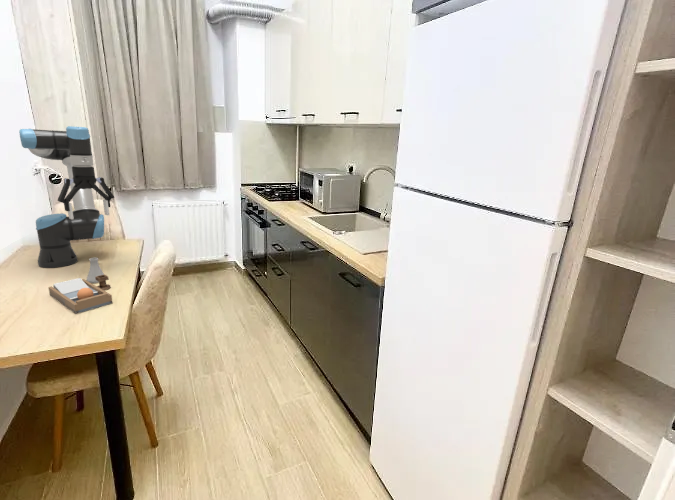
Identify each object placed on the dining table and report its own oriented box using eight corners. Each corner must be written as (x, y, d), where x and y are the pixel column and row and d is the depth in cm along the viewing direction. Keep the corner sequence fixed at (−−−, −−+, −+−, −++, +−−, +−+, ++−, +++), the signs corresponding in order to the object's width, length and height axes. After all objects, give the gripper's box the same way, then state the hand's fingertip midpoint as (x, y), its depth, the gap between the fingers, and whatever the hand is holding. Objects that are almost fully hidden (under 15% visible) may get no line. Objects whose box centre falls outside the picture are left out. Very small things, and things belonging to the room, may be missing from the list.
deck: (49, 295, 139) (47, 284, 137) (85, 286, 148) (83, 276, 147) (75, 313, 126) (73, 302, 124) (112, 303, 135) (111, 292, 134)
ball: (78, 302, 133) (72, 291, 132) (92, 296, 137) (86, 284, 135) (84, 304, 131) (78, 292, 129) (98, 297, 134) (92, 285, 133)
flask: (110, 279, 157) (107, 257, 154) (95, 284, 151) (91, 262, 148) (98, 276, 159) (95, 255, 157) (82, 281, 153) (79, 259, 150)
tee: (93, 288, 147) (92, 276, 145) (107, 285, 151) (105, 273, 149) (99, 291, 144) (97, 279, 143) (112, 288, 148) (111, 276, 147)
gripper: (49, 167, 135) (58, 222, 141) (119, 166, 155) (124, 214, 161) (42, 165, 139) (51, 219, 145) (111, 165, 159) (116, 212, 165)
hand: (89, 216), depth 153 cm, fingers open, 13 cm apart
